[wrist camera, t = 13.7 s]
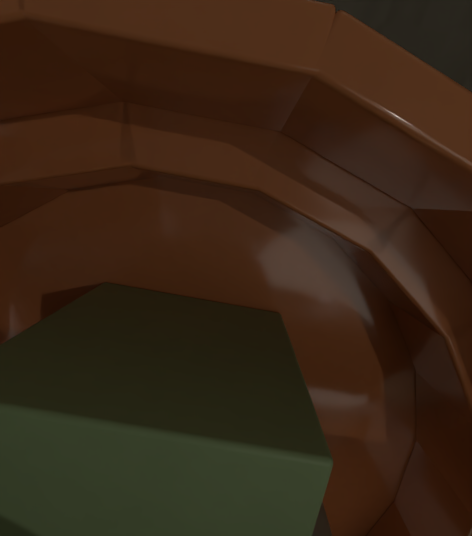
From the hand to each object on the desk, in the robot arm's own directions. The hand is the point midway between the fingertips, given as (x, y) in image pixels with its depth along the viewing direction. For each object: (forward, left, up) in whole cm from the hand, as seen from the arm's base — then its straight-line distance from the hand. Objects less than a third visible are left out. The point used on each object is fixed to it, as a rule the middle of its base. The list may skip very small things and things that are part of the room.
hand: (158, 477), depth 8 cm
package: (0, 0, -2) cm, 2 cm away
